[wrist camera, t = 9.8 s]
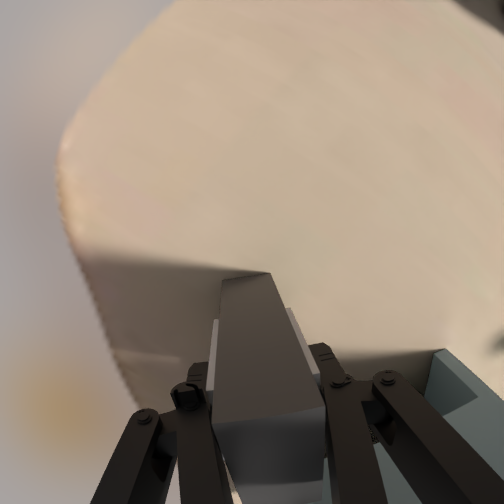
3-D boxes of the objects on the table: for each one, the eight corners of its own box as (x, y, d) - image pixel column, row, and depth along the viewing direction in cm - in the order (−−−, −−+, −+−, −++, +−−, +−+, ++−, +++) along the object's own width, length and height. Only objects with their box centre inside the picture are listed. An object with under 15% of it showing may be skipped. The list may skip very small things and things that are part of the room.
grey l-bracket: (222, 280, 18) (211, 423, 7) (270, 273, 18) (325, 405, 7) (261, 468, 23) (275, 570, 11) (292, 463, 23) (314, 563, 11)
